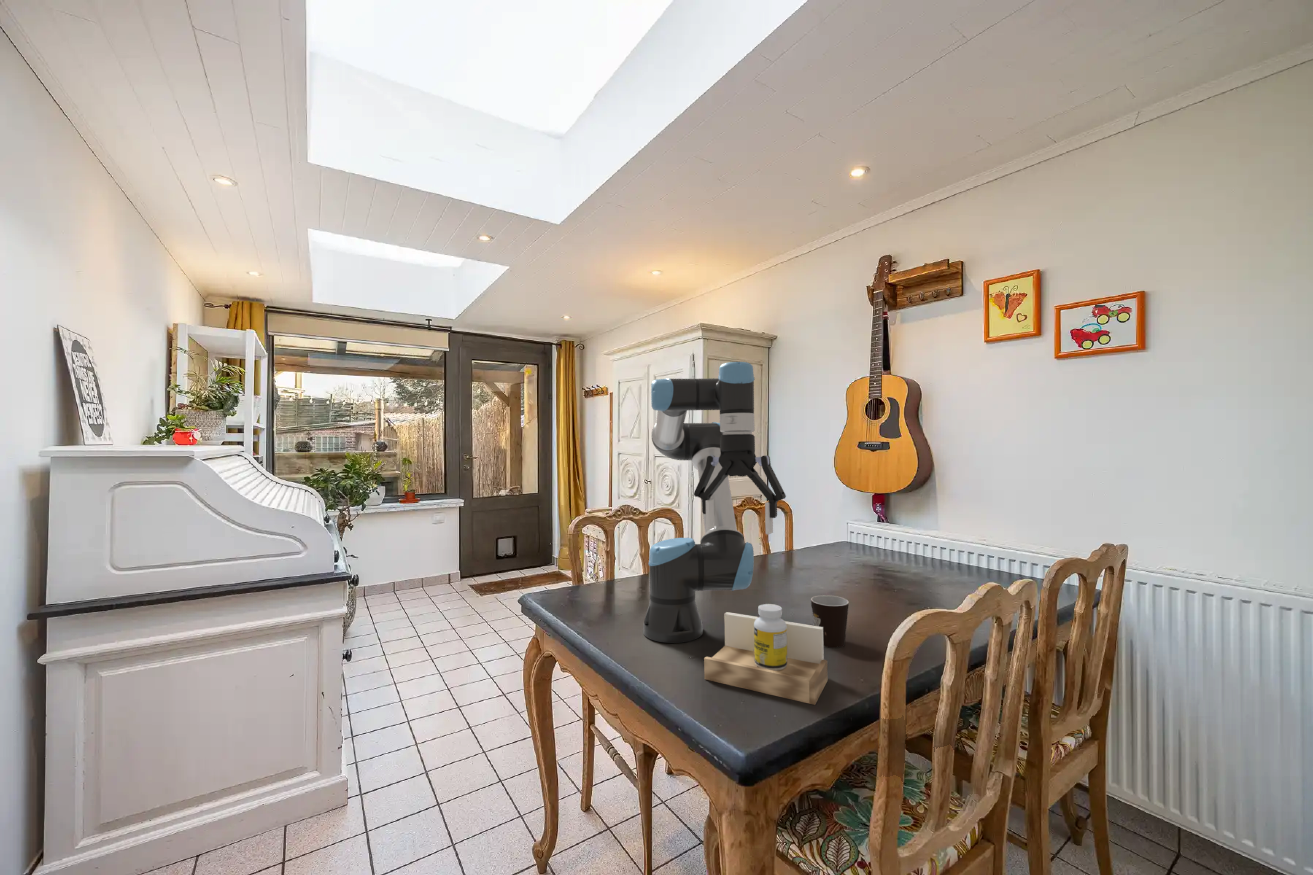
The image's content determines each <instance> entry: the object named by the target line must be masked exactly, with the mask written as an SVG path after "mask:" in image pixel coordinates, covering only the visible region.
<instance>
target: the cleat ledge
mask: <svg viewBox="0 0 1313 875" xmlns="http://www.w3.org/2000/svg"><path fill="white" fill-rule="evenodd" d="M703 660H704V661H703V665H704V667H703V668H704V669H703V670H704V672H703V673H704V680H706V681H711V682H715V683H719V684H724V685H727V686H731V687H736V688H741V689H746V690H749V691H754V692H759V693H762V694H766V695H771V696H776V697H780V698H784V699H788V700H793V701H796V702H801V703H806V704H810V705H814V706H815V705H816V704H817V702H818V700H819V698H820V696H821V694H822V692H823V690H824V689H825V686H826V684H827V682H828V681H829V680H828V660H827V659H824V660H822V661H821V662H820V664H817V663H812V662H807V661H801V660H796V659H791V658H787V666H786V667H785V668H784V669H782V670H779V671H773V670H768V669H764V668H759V667H758V666H757V665H756V664H755V656H754V651H750V650H745V649H739V648H734V647H729V646H725V645H723V647H722V648H721V649H719V650H718V651H717V652H716V653H715V654H714V655H713V656H711V657H710V656H705V657H704V658H703Z"/></svg>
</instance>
